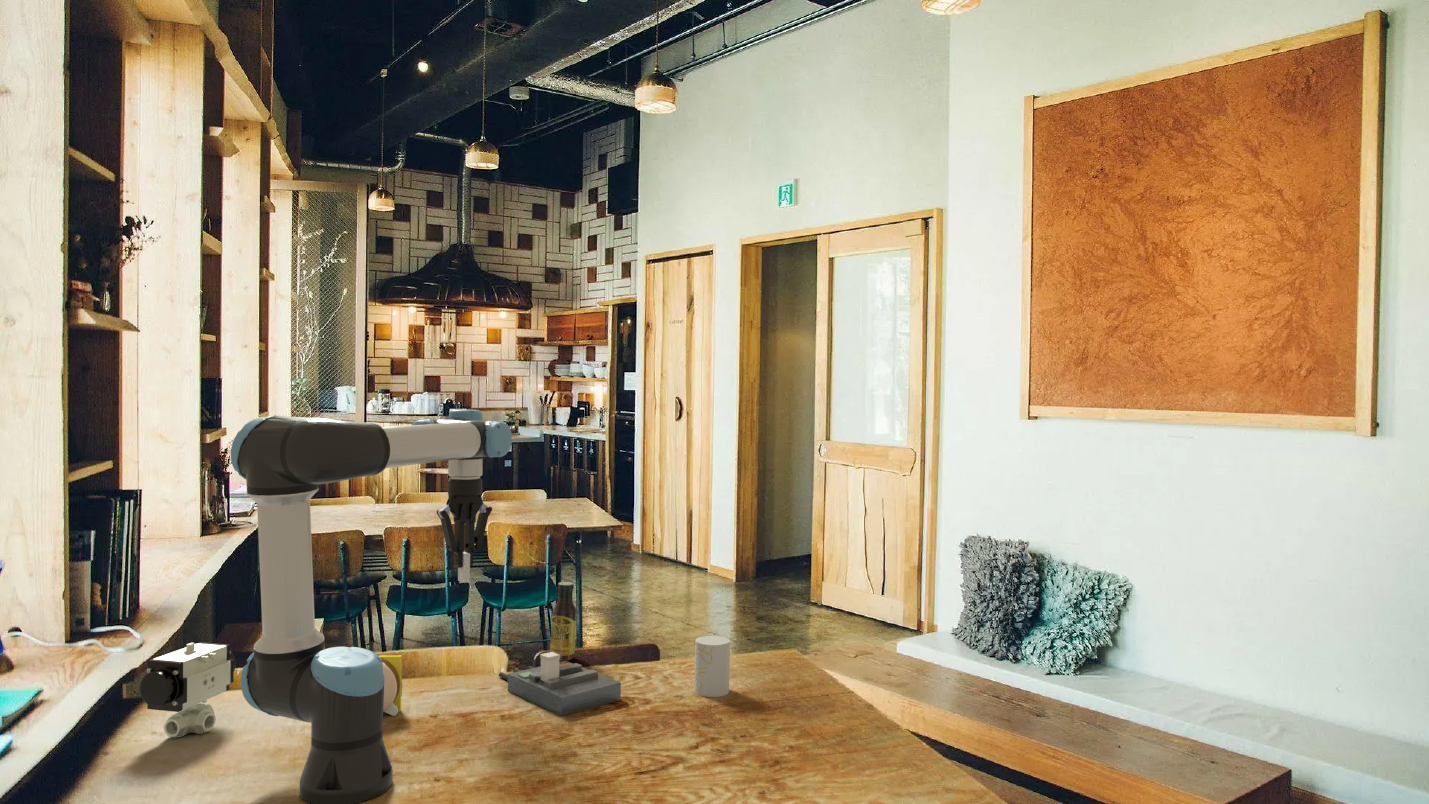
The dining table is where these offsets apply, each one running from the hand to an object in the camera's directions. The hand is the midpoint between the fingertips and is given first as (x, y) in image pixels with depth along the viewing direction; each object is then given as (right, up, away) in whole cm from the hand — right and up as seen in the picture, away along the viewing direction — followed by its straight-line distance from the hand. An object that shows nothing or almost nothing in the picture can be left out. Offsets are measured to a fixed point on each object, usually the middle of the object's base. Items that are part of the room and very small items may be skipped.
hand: (463, 581), depth 207 cm
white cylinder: (+56, -28, +7) cm, 63 cm away
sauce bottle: (+17, -27, +31) cm, 44 cm away
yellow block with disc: (-17, -27, -11) cm, 33 cm away
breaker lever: (+20, -22, 0) cm, 30 cm away
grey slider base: (+19, -27, +6) cm, 33 cm away
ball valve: (-49, -26, -23) cm, 60 cm away
